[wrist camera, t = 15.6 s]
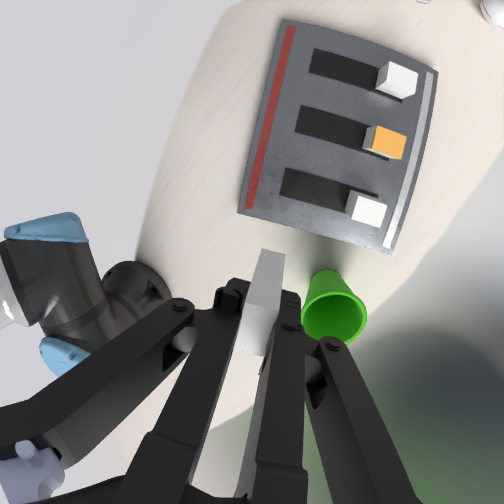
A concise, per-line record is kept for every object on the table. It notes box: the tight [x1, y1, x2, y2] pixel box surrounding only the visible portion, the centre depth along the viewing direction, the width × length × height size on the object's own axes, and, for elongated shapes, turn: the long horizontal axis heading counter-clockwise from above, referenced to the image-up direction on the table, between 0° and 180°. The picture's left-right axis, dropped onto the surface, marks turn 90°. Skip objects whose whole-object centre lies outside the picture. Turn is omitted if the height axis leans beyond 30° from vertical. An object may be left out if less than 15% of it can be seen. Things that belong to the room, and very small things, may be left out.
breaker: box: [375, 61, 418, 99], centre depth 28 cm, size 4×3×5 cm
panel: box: [237, 19, 438, 255], centre depth 35 cm, size 24×30×2 cm
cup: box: [301, 269, 367, 345], centre depth 39 cm, size 9×9×11 cm
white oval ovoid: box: [480, 0, 504, 30], centre depth 18 cm, size 10×7×7 cm
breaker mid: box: [362, 125, 407, 159], centre depth 31 cm, size 4×3×5 cm
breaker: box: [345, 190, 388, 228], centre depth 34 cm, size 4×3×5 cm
